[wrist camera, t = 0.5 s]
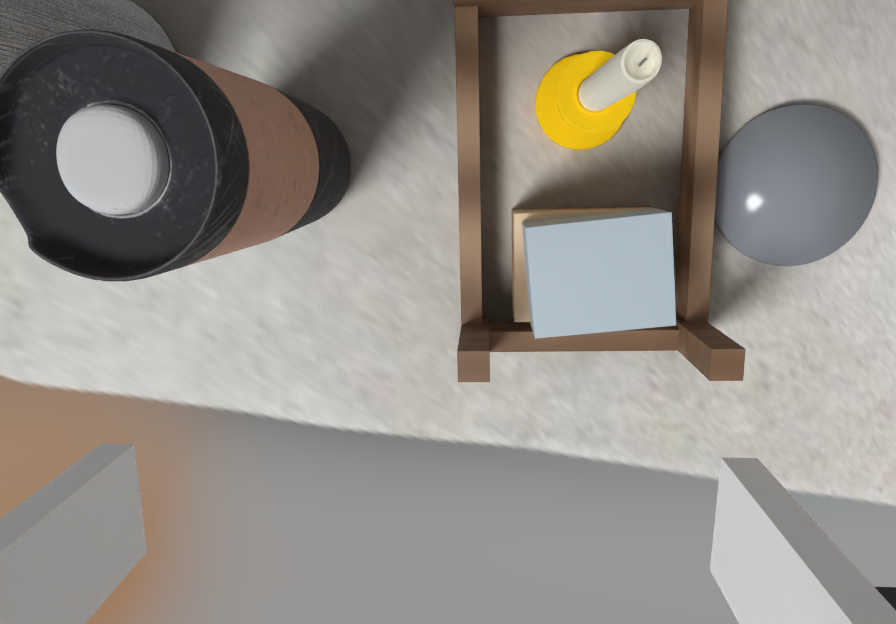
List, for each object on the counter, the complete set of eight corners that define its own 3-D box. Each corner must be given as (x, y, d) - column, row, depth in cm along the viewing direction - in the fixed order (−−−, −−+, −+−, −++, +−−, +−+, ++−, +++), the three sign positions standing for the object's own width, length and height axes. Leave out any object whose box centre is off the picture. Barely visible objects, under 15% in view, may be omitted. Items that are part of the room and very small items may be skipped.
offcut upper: (521, 222, 35) (525, 227, 32) (653, 207, 35) (671, 212, 31) (530, 322, 36) (534, 338, 33) (658, 310, 36) (676, 325, 32)
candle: (646, 108, 37) (755, 66, 22) (573, 168, 38) (630, 169, 23) (589, 34, 36) (661, -62, 21) (516, 97, 37) (536, 49, 22)
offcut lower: (511, 209, 39) (514, 213, 35) (647, 206, 39) (665, 210, 35) (511, 307, 40) (514, 322, 36) (643, 305, 40) (660, 320, 36)
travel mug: (371, 121, 38) (252, 73, 19) (335, 245, 40) (191, 319, 20) (247, 79, 38) (-4, -14, 19) (216, 205, 40) (-44, 240, 20)
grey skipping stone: (715, 108, 37) (718, 107, 36) (880, 102, 36) (886, 101, 36) (705, 265, 39) (708, 267, 38) (862, 263, 38) (868, 264, 38)
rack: (456, -6, 36) (445, -70, 27) (712, -17, 36) (798, -86, 26) (463, 341, 41) (456, 395, 31) (692, 339, 40) (759, 394, 30)
